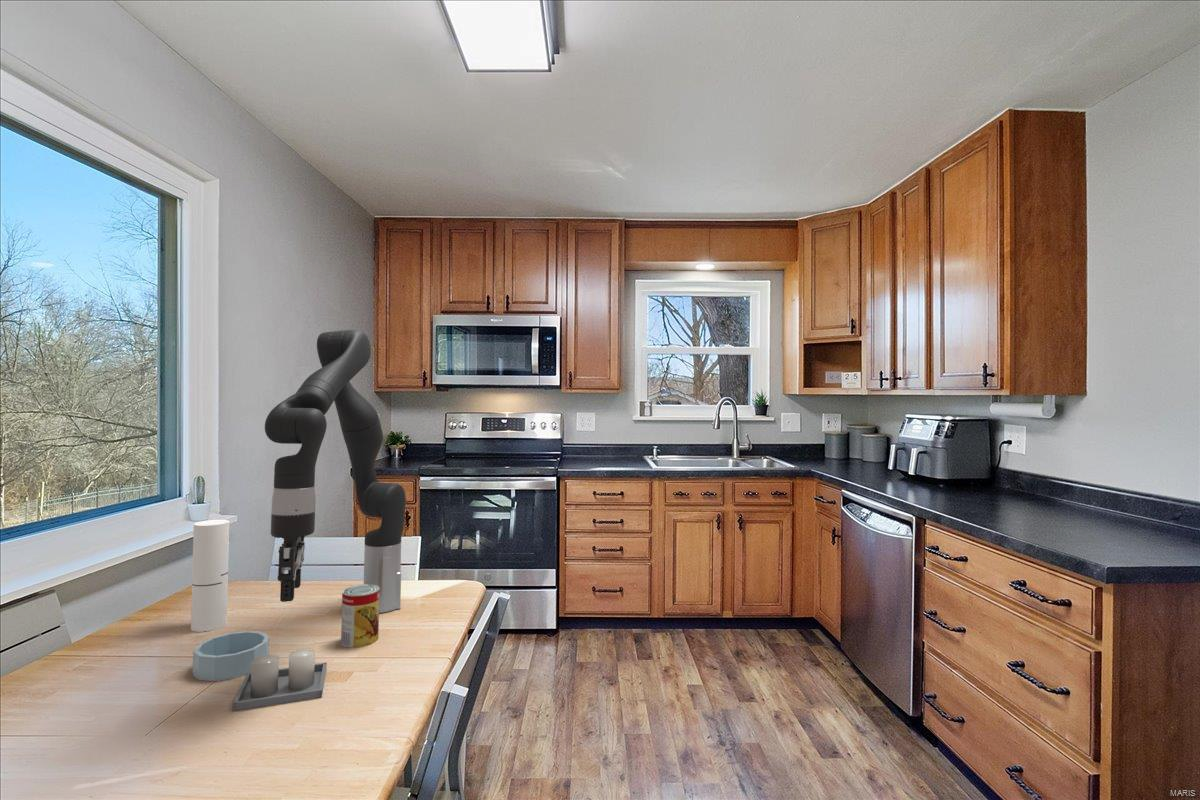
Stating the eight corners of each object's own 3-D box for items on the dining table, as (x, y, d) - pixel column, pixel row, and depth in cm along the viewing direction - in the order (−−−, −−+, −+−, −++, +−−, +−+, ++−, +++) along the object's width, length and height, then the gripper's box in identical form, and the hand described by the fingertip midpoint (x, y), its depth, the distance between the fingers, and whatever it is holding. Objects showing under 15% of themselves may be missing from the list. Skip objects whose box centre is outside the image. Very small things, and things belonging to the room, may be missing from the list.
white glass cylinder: (315, 677, 111) (315, 646, 111) (313, 687, 107) (313, 656, 107) (289, 681, 110) (290, 650, 110) (286, 691, 106) (287, 659, 106)
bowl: (272, 651, 124) (272, 628, 124) (261, 676, 112) (262, 651, 112) (203, 659, 119) (204, 635, 119) (185, 687, 107) (186, 661, 108)
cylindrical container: (233, 621, 140) (236, 520, 140) (211, 632, 133) (214, 526, 133) (207, 619, 141) (209, 519, 141) (183, 631, 134) (186, 525, 134)
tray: (326, 671, 115) (326, 662, 115) (321, 699, 104) (321, 690, 104) (246, 682, 110) (246, 673, 110) (232, 714, 99) (232, 703, 99)
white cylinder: (279, 684, 108) (280, 653, 108) (276, 696, 104) (276, 663, 104) (253, 688, 106) (253, 656, 106) (248, 700, 102) (249, 666, 102)
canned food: (385, 639, 131) (387, 587, 131) (358, 652, 124) (359, 597, 124) (361, 633, 134) (362, 582, 135) (333, 645, 127) (334, 591, 128)
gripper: (310, 515, 105) (307, 604, 104) (319, 503, 118) (316, 582, 118) (264, 517, 102) (260, 608, 102) (278, 505, 116) (275, 585, 115)
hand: (290, 594), depth 110 cm, fingers open, 8 cm apart
